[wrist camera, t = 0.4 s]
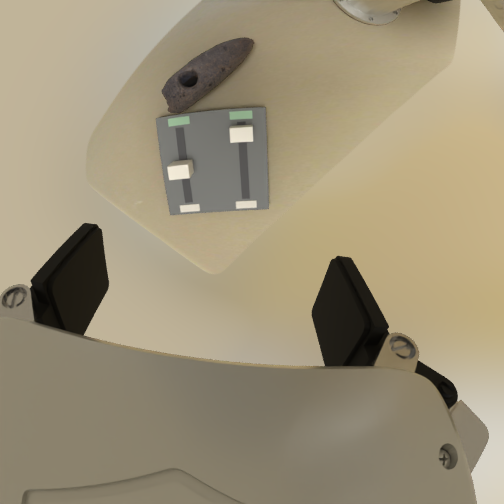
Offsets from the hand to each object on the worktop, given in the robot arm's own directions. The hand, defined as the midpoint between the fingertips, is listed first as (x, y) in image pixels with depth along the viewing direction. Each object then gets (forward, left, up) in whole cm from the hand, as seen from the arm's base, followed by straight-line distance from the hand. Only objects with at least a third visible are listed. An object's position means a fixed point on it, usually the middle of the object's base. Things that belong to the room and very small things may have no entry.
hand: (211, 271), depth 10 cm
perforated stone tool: (-11, -3, -34) cm, 36 cm away
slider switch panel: (+3, -4, -33) cm, 34 cm away
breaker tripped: (+3, -8, -31) cm, 32 cm away
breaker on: (-1, +1, -31) cm, 31 cm away
